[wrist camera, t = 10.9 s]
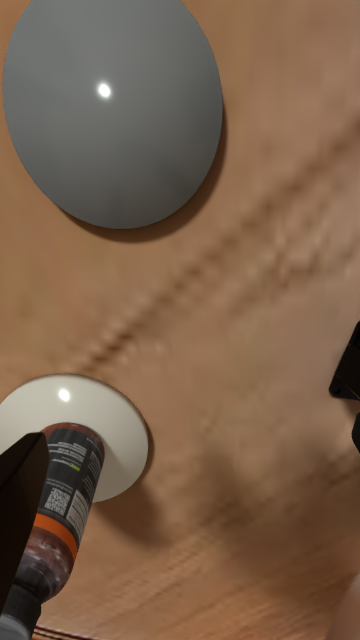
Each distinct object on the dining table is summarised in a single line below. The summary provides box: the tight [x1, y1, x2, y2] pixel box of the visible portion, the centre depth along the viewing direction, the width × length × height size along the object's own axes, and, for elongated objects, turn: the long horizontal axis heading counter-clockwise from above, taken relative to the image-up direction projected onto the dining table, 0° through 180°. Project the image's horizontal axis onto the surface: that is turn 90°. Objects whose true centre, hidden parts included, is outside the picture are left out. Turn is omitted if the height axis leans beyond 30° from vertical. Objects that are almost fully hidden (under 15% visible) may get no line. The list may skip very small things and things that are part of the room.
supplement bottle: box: [0, 422, 105, 640], centre depth 18 cm, size 6×6×11 cm
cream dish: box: [0, 374, 149, 503], centre depth 24 cm, size 13×13×1 cm
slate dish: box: [2, 0, 223, 229], centre depth 16 cm, size 12×12×1 cm
